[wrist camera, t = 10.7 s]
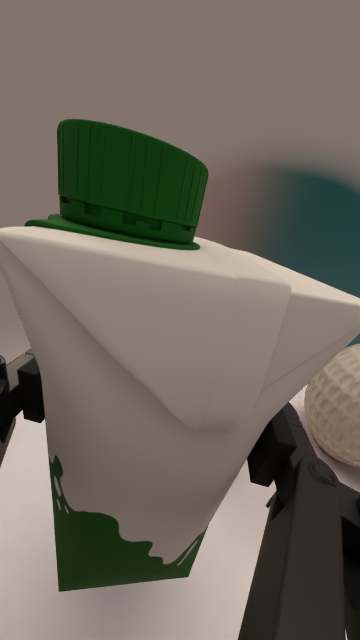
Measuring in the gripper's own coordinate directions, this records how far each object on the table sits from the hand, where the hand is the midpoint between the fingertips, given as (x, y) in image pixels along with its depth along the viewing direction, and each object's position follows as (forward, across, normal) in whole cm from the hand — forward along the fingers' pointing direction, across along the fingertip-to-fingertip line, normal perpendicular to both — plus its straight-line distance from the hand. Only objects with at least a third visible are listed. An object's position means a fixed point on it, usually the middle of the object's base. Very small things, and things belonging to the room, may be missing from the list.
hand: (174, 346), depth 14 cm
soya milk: (-4, 0, -11) cm, 12 cm away
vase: (+17, +32, -23) cm, 42 cm away
